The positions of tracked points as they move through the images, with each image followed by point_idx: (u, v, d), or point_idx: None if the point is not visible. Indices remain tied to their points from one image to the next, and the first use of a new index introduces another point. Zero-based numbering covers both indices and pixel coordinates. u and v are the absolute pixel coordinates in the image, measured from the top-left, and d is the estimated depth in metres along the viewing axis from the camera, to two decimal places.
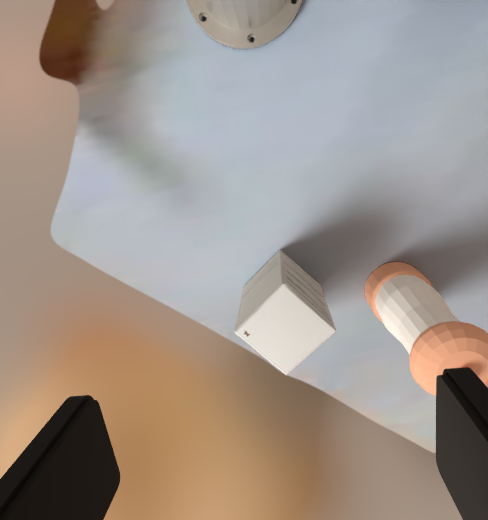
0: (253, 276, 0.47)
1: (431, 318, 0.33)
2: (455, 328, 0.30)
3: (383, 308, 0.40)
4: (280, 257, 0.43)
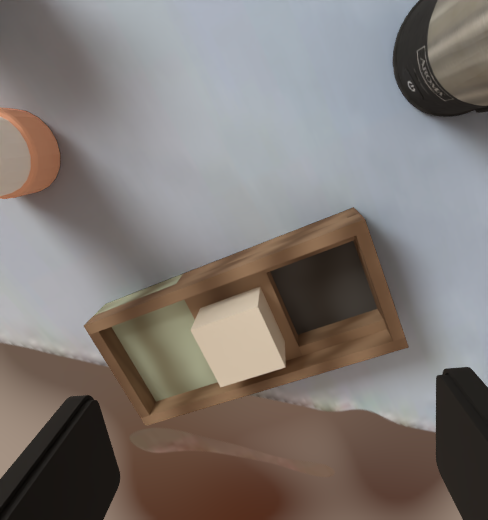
0: None
1: None
2: None
3: None
4: None
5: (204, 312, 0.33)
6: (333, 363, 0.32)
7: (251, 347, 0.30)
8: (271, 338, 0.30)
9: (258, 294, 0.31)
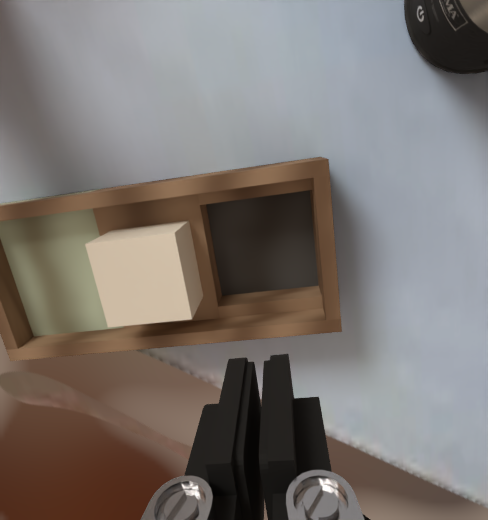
0: None
1: None
2: None
3: None
4: None
5: (113, 233, 0.26)
6: (251, 332, 0.27)
7: (156, 285, 0.24)
8: (182, 278, 0.24)
9: (182, 225, 0.25)
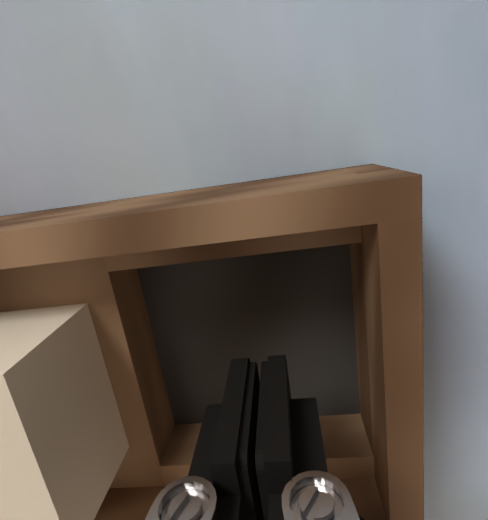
0: None
1: None
2: None
3: None
4: None
5: None
6: None
7: None
8: (40, 476, 0.09)
9: (58, 326, 0.11)
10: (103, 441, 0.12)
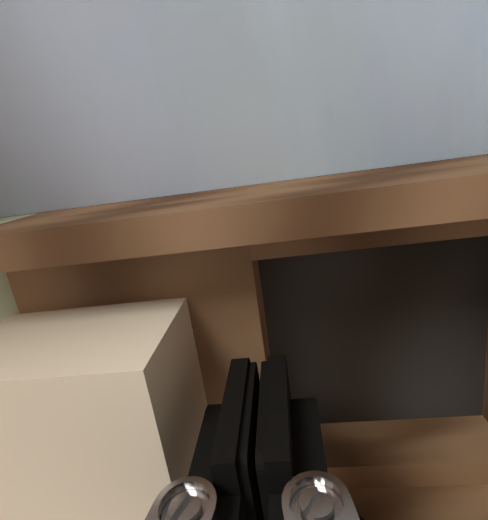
0: None
1: None
2: None
3: None
4: None
5: (5, 330, 0.11)
6: None
7: (97, 492, 0.09)
8: (168, 481, 0.09)
9: (170, 321, 0.10)
10: None
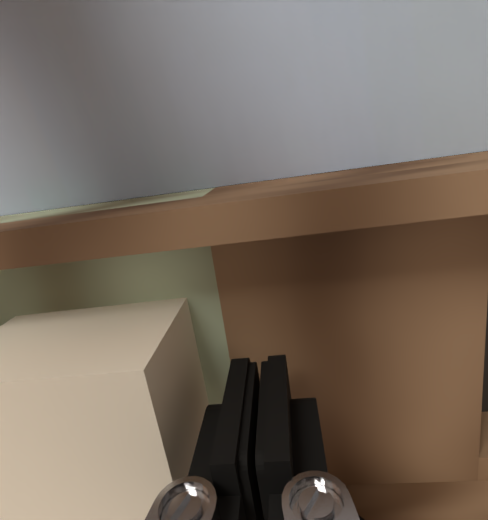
0: None
1: None
2: None
3: None
4: None
5: (8, 332, 0.11)
6: None
7: (99, 491, 0.09)
8: (169, 480, 0.09)
9: (170, 321, 0.10)
10: None
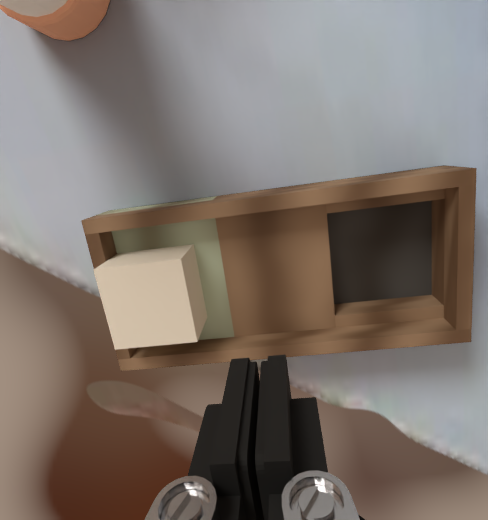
0: None
1: None
2: None
3: None
4: None
5: (120, 256, 0.27)
6: (377, 342, 0.27)
7: (162, 308, 0.25)
8: (188, 302, 0.25)
9: (188, 249, 0.26)
10: (200, 306, 0.28)
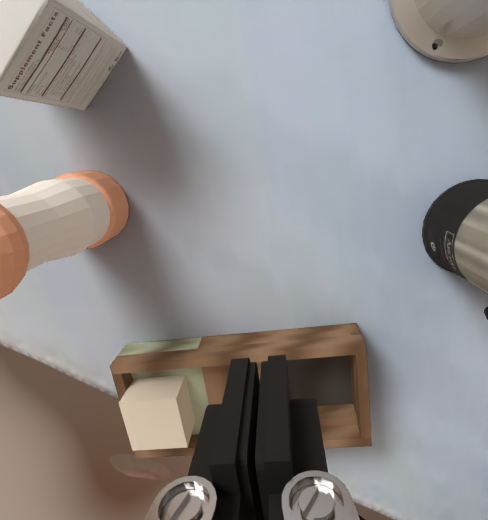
0: None
1: (33, 223, 0.25)
2: (12, 243, 0.22)
3: (54, 181, 0.30)
4: (110, 36, 0.30)
5: (135, 385, 0.40)
6: None
7: (164, 427, 0.38)
8: (181, 424, 0.37)
9: (181, 384, 0.39)
10: (190, 417, 0.40)
